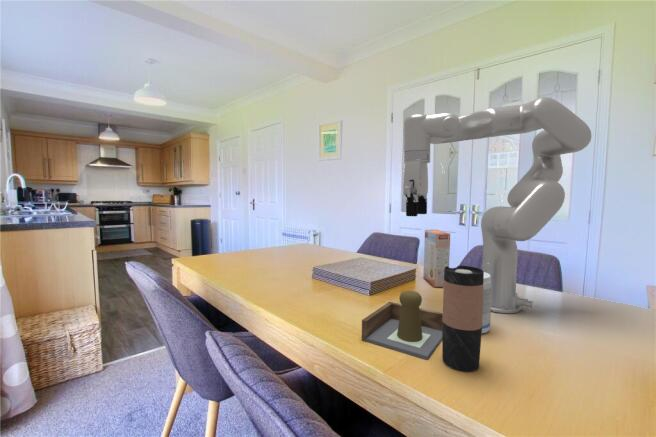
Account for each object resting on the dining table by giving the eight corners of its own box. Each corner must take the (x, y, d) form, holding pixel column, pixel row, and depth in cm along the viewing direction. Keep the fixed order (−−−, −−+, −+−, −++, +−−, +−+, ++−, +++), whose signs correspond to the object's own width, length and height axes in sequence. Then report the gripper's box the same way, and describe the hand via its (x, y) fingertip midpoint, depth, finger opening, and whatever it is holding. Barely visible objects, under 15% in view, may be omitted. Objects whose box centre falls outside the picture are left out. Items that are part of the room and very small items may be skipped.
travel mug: (477, 377, 61) (482, 275, 60) (437, 365, 65) (440, 270, 64) (482, 359, 68) (486, 267, 66) (445, 350, 72) (448, 263, 70)
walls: (447, 333, 80) (447, 314, 80) (427, 360, 67) (428, 337, 67) (388, 318, 90) (389, 301, 89) (361, 340, 76) (361, 320, 76)
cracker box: (449, 288, 119) (451, 233, 118) (433, 287, 119) (435, 233, 118) (437, 278, 133) (438, 229, 132) (422, 278, 133) (424, 229, 132)
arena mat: (447, 333, 80) (447, 329, 80) (427, 360, 67) (427, 355, 67) (388, 318, 90) (389, 315, 89) (361, 340, 76) (361, 336, 76)
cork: (421, 332, 79) (422, 289, 78) (423, 343, 73) (424, 296, 72) (397, 329, 80) (397, 287, 79) (397, 340, 74) (397, 294, 73)
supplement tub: (479, 320, 89) (481, 269, 87) (497, 335, 79) (499, 278, 78) (444, 320, 88) (446, 269, 87) (458, 335, 79) (461, 278, 78)
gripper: (413, 161, 103) (413, 213, 105) (394, 156, 89) (394, 216, 90) (437, 159, 99) (436, 213, 101) (421, 154, 85) (420, 217, 86)
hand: (416, 215), depth 95 cm, fingers open, 9 cm apart
